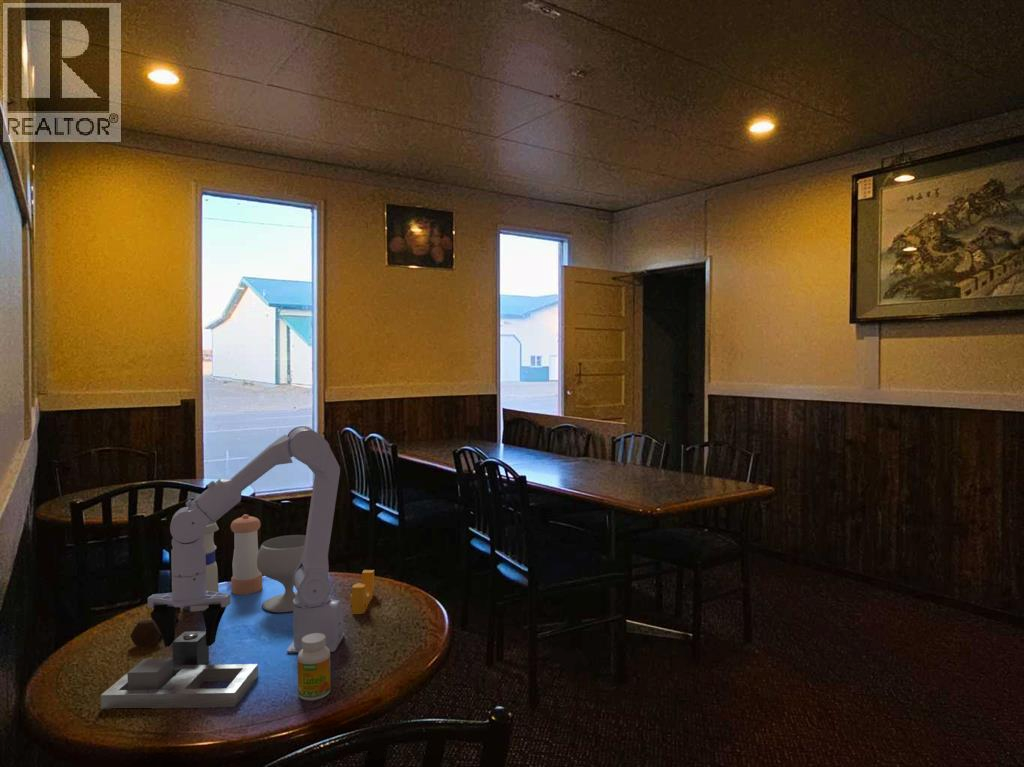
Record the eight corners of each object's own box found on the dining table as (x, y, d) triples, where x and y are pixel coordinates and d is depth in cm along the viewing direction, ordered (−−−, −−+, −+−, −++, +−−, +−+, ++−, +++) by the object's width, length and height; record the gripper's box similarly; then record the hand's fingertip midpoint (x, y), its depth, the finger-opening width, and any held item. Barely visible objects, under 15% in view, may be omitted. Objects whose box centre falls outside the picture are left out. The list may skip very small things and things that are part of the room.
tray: (258, 676, 114) (257, 663, 114) (234, 706, 104) (234, 692, 104) (136, 679, 114) (135, 666, 114) (100, 709, 104) (100, 695, 104)
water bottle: (173, 607, 147) (170, 501, 147) (208, 596, 154) (206, 495, 154) (191, 615, 143) (189, 506, 142) (227, 603, 150) (224, 499, 149)
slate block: (173, 686, 111) (172, 658, 111) (158, 701, 106) (157, 672, 106) (144, 686, 111) (144, 658, 111) (128, 701, 106) (127, 672, 106)
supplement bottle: (299, 704, 105) (298, 647, 104) (296, 689, 110) (295, 634, 109) (332, 697, 107) (331, 641, 107) (328, 682, 112) (327, 629, 112)
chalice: (279, 591, 157) (278, 532, 157) (330, 595, 154) (329, 534, 154) (245, 613, 143) (243, 548, 143) (300, 617, 141) (299, 551, 140)
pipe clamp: (356, 596, 154) (356, 570, 154) (374, 595, 154) (374, 569, 154) (344, 615, 142) (344, 587, 142) (363, 615, 142) (363, 587, 142)
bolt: (177, 626, 142) (148, 654, 127) (156, 616, 141) (125, 643, 126) (191, 602, 142) (163, 628, 127) (170, 592, 141) (140, 617, 126)
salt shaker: (261, 593, 156) (259, 516, 156) (229, 596, 154) (227, 519, 154) (263, 583, 163) (262, 510, 163) (233, 586, 161) (231, 512, 160)
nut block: (208, 662, 120) (208, 629, 120) (197, 673, 116) (196, 640, 115) (185, 662, 120) (184, 630, 120) (173, 674, 115) (172, 640, 115)
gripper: (137, 580, 113) (139, 654, 113) (218, 579, 113) (219, 653, 114) (158, 567, 120) (160, 637, 120) (234, 566, 120) (236, 636, 121)
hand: (190, 644), depth 118 cm, fingers open, 7 cm apart
